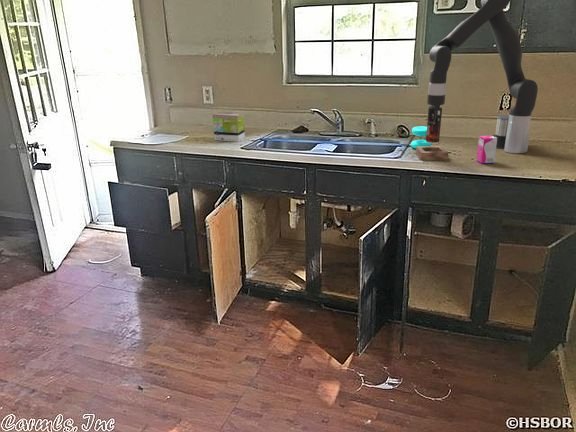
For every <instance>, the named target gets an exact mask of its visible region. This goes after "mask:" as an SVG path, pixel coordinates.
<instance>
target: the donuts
mask: <svg viewBox="0 0 576 432" xmlns="http://www.w3.org/2000/svg"><path fill="white" fill-rule="evenodd" d="M426 131H427V126H414V127H413V128H412V129H411V133H412V134H413V135H414V136H417V137H426ZM421 146H432V142H426V139H416V140H415V139H414V140H413V141H411V143H410V147H411V148H412V149H414V150H416V147H421Z"/></svg>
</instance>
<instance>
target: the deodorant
mask: <svg viewBox="0 0 576 432" xmlns="http://www.w3.org/2000/svg"><path fill="white" fill-rule="evenodd" d="M427 109H428V111H427V120H426V127H427V131H426V136H425V140H426V142H430V143H439V142H440V137H441V135H440V134H441V126H442V125H441V124H442V120H441V121H440V124H438V132H437V133H433V132H432V131H433V119H432V114H433V115H434V117H435V114H434V108H432V107H429V106H428V108H427ZM440 110H442V111H443V108H442V107H440ZM442 116H443V115H442V114H441V117H442ZM436 121H438V119H436Z"/></svg>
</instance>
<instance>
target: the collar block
mask: <svg viewBox="0 0 576 432" xmlns="http://www.w3.org/2000/svg"><path fill="white" fill-rule="evenodd" d="M415 155H416V156H417V158H418V159H419V160H420V161H448V157H449V152H448V151H447V149H445V148H444V146H443V145H437V146H436V145H435V146H434V145H431V146H421V147H416V149H415Z"/></svg>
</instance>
